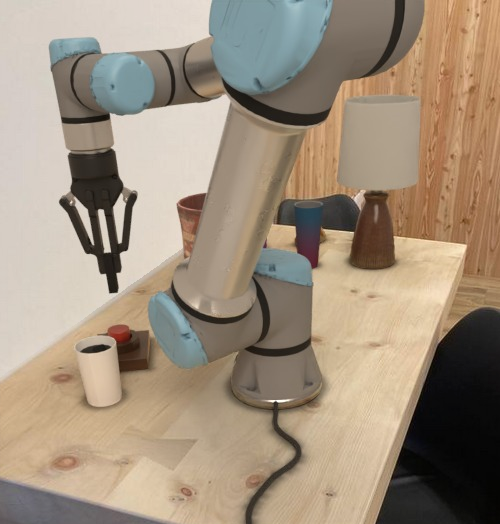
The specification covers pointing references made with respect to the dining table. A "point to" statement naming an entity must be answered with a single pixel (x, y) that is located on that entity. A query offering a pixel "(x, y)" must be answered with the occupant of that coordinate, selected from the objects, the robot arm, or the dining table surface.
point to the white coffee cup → (99, 370)
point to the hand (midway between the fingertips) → (114, 290)
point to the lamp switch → (119, 332)
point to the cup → (308, 229)
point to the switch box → (133, 351)
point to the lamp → (378, 167)
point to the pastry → (322, 236)
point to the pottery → (190, 219)
